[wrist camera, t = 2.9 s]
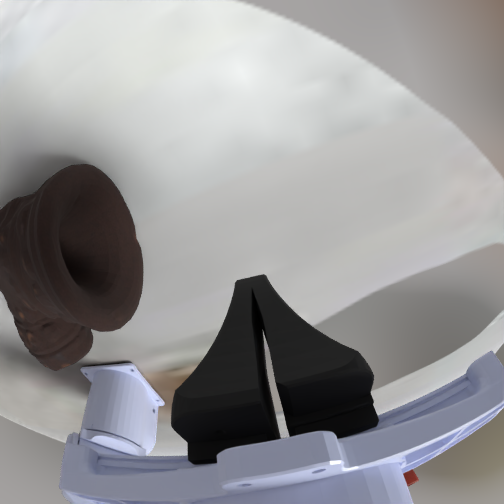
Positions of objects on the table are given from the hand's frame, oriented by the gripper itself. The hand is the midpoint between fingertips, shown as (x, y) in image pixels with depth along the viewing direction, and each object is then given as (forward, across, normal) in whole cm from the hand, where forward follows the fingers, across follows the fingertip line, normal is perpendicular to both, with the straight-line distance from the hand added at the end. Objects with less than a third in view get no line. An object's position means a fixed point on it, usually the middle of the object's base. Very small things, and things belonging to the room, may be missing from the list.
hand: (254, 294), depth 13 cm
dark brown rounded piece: (+10, +16, 0) cm, 19 cm away
